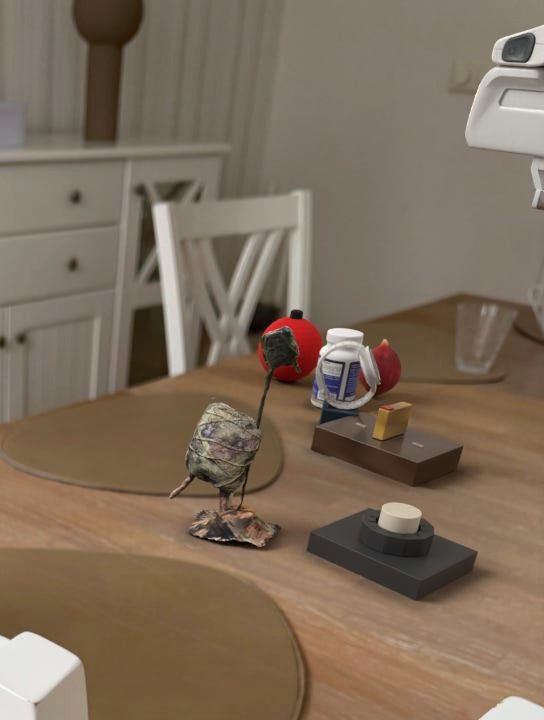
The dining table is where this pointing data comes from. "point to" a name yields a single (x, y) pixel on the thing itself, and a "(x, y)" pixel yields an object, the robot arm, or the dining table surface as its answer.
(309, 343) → the ornament
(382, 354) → the onion
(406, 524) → the bell button
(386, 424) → the block
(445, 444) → the plate
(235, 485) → the stone sculpture
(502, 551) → the dining table surface
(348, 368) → the pill bottle
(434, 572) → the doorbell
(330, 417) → the watch
